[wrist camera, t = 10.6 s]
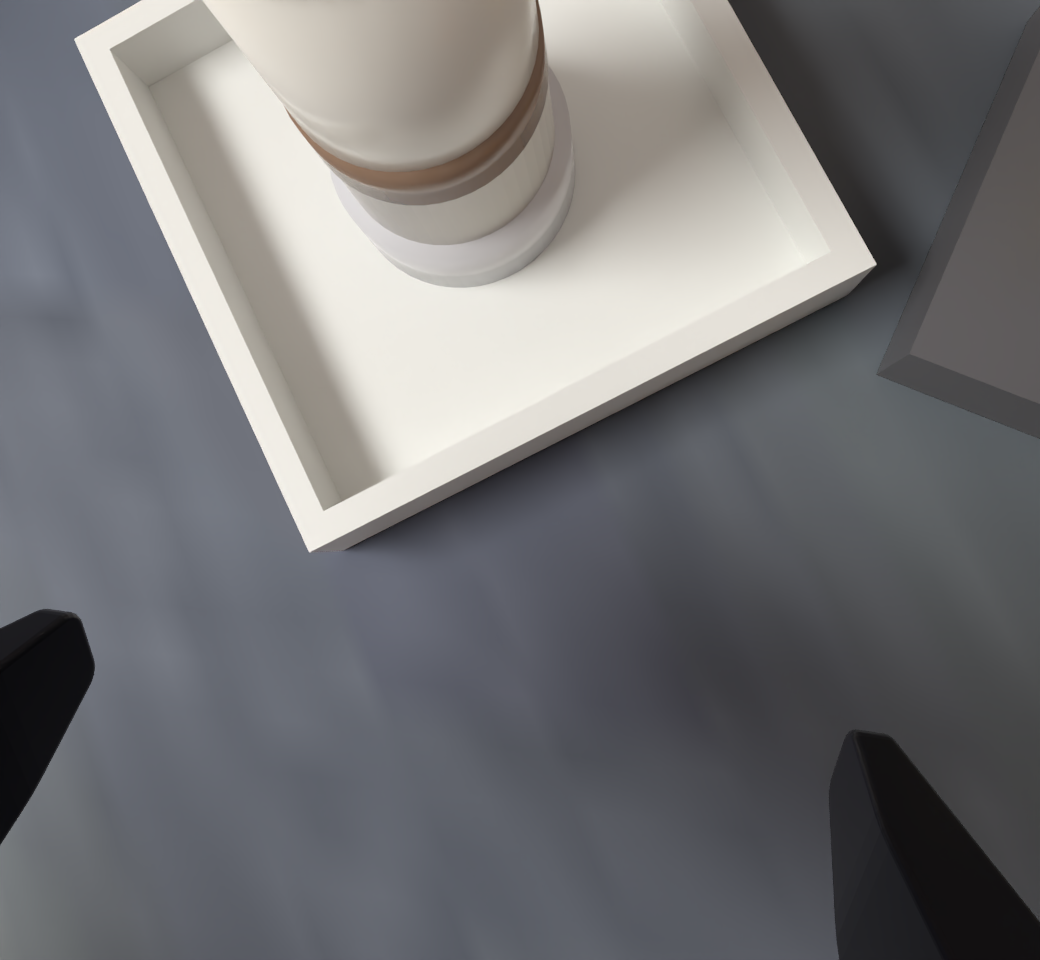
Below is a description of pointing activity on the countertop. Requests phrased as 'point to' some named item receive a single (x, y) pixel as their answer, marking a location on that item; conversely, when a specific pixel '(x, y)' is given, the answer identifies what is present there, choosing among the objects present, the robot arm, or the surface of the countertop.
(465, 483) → the tray
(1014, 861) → the countertop surface
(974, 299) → the fuse block
